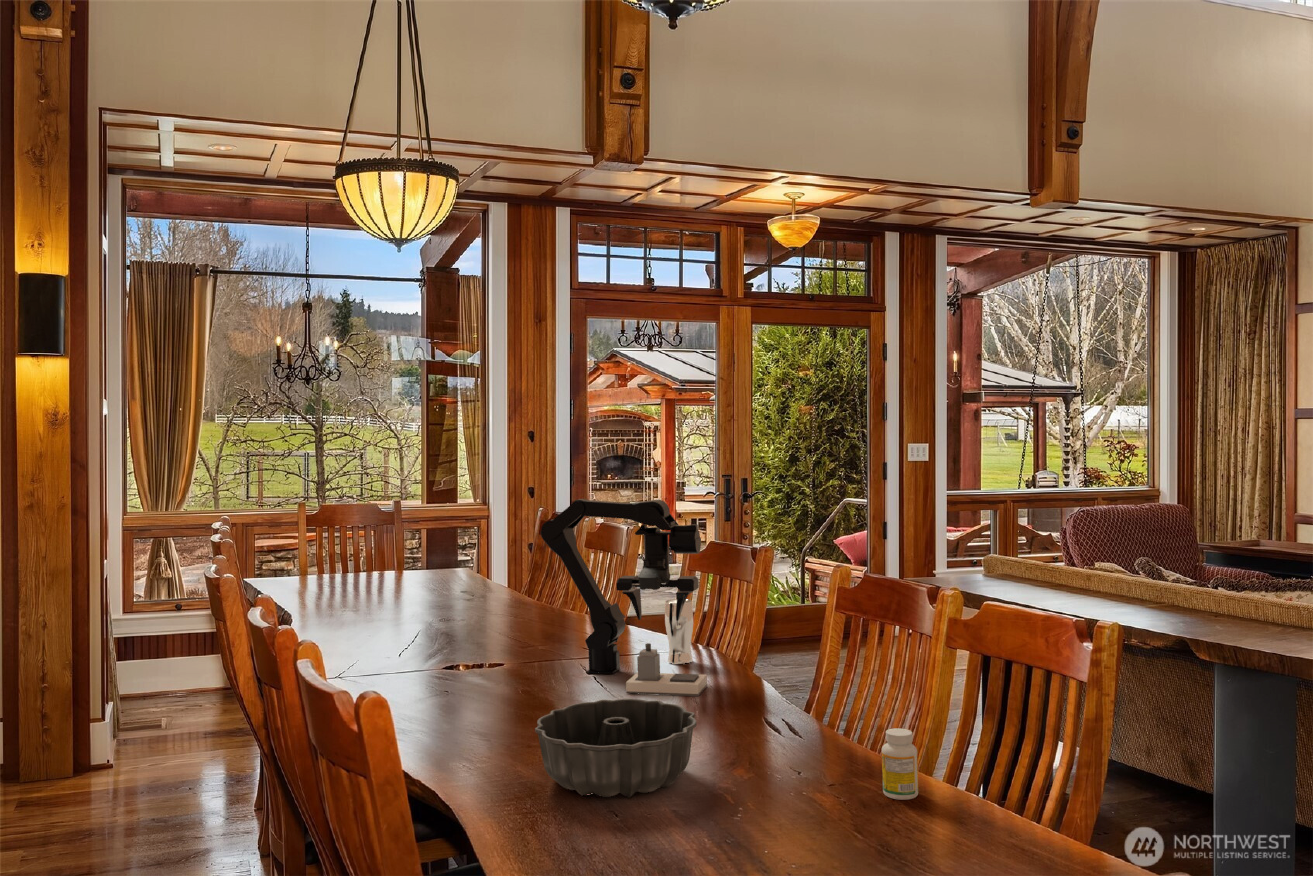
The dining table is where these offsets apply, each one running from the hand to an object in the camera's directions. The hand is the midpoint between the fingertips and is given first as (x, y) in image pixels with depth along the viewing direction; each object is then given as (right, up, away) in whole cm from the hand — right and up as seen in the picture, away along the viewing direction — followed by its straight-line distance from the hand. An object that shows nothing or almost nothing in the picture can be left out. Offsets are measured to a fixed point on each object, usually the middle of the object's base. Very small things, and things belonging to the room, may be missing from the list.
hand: (658, 620), depth 242 cm
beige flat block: (+2, -13, -16) cm, 20 cm away
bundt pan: (-7, -13, -74) cm, 75 cm away
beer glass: (+5, -13, +11) cm, 18 cm away
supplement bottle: (+37, -12, -84) cm, 93 cm away
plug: (-2, -12, -15) cm, 19 cm away
